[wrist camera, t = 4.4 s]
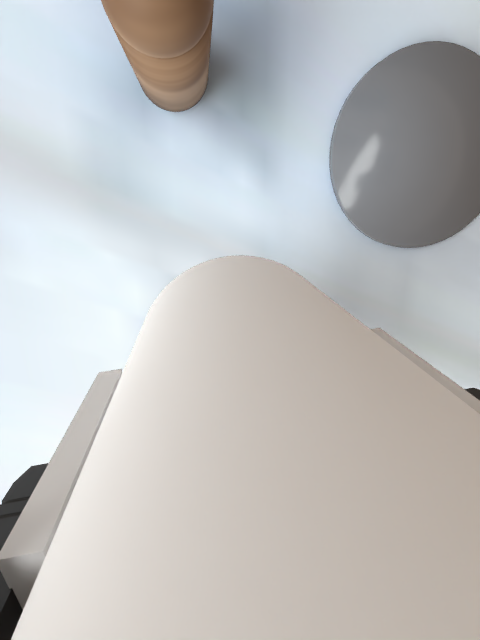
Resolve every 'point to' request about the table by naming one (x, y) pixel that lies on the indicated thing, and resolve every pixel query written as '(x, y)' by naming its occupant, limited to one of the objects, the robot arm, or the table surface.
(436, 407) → the cup
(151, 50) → the pepper mill
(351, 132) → the coaster
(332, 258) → the table surface
